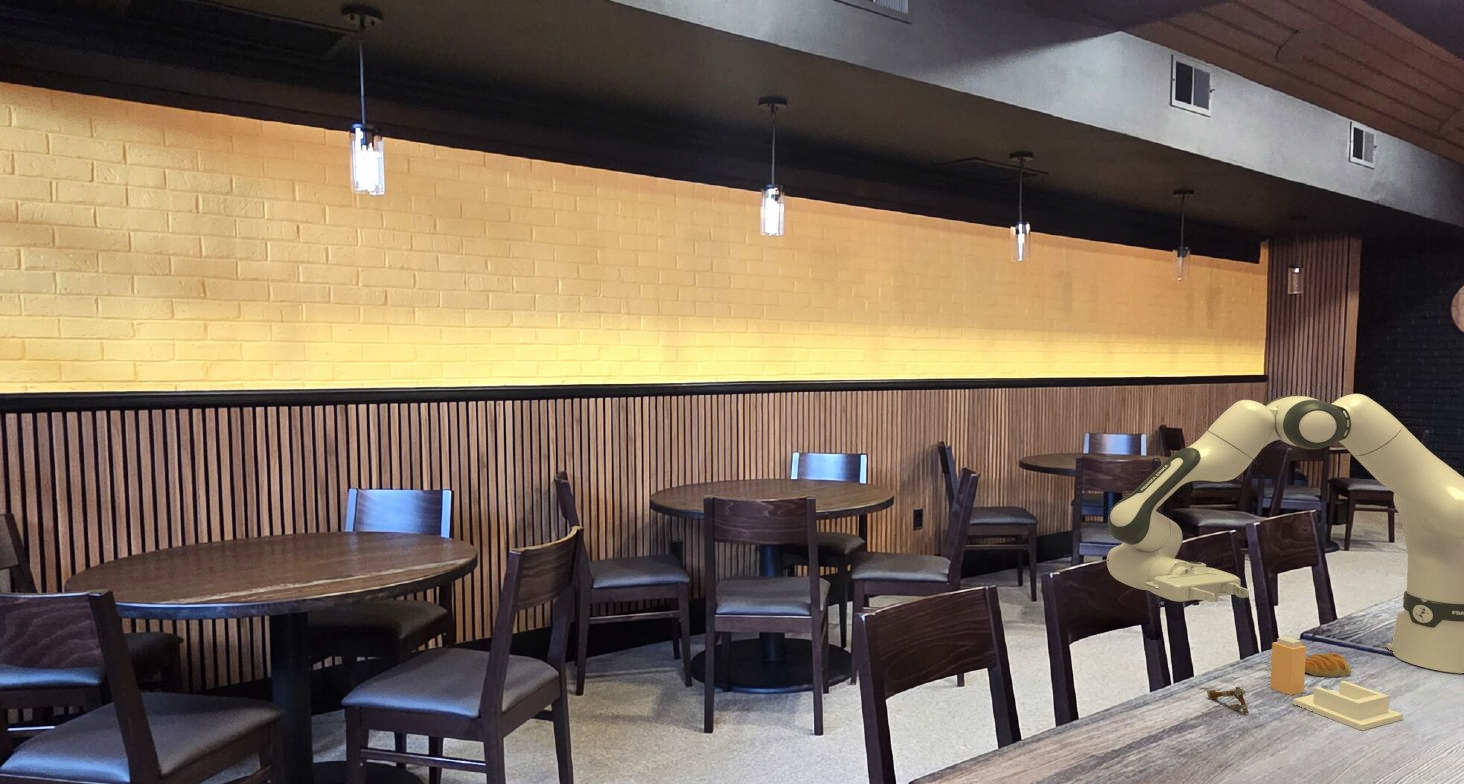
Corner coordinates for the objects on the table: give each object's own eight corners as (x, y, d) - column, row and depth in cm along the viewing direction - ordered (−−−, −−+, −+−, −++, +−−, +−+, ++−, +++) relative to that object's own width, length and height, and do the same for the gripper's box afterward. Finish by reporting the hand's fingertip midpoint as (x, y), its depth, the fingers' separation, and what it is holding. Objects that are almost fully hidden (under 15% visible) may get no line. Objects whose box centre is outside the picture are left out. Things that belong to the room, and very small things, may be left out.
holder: (1333, 694, 166) (1334, 674, 166) (1402, 719, 155) (1403, 697, 155) (1292, 704, 161) (1293, 683, 161) (1361, 730, 150) (1362, 708, 150)
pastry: (1318, 680, 173) (1318, 662, 173) (1288, 668, 180) (1289, 650, 180) (1354, 677, 176) (1355, 658, 176) (1323, 665, 182) (1324, 647, 182)
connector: (1283, 684, 171) (1285, 635, 170) (1303, 692, 167) (1306, 641, 166) (1270, 687, 169) (1272, 637, 168) (1290, 695, 165) (1293, 643, 165)
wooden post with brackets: (1247, 713, 155) (1239, 686, 156) (1213, 714, 162) (1206, 688, 163) (1255, 712, 155) (1247, 685, 157) (1220, 713, 162) (1213, 688, 164)
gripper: (1140, 568, 186) (1197, 585, 174) (1205, 561, 195) (1264, 576, 182) (1138, 597, 187) (1195, 615, 174) (1203, 588, 195) (1262, 606, 182)
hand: (1231, 595), depth 178 cm, fingers open, 8 cm apart
